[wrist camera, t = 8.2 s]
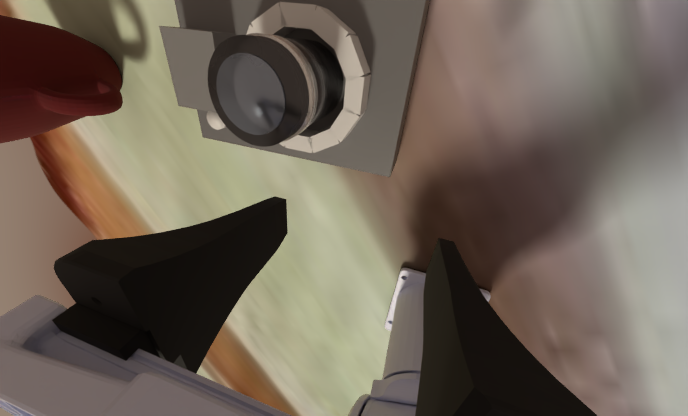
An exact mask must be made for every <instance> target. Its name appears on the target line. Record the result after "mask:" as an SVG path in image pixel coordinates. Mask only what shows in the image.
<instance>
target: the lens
mask: <svg viewBox="0 0 688 416" xmlns="http://www.w3.org/2000/svg"><path fill="white" fill-rule="evenodd" d="M208 88H209V93H210V97H211V100H212V103H213V106H214V108H215V110H216V112H217V114H218V116H219V117H220V119H221V120H222V122H223V123H224V124H225V126H226V127H227V128H228V129H229V130H230V131H231V132H232V133H233V134H234V135H236V136H237V137H238V138H240V139H241V140H243V141H245V142H247V143H249V144H252V145H255V146H261V147H267V146H273V145H276V144H279V143H281V142H284V141H287V140H290V139H292V138H293V137H295V136H297V135H298V134H300V133H301V132H303V131H304V130H305V129H306V128H307V127H308V126H309V125H311V124H313V123H315V122H316V121H318V120H320V119H321V118H323V117H325V116H326V115H328V114H330V113H331V112H332V111H333V110H334V109H335V107H336V106H337V104H338V103H339V101H340V98H341V95H342V90H343V76H342V71H341V68H340V65H339V63H338V61H337V59H336V57H335V56H334V54H333V53H332V52H331V51H330V50H329V49H328V48H327V47H326V46H324V45H323V44H321V43H319V42H317V41H313V40H307V39H293V38H283V37H281V36H277V35H273V34H264V33H251V34H247V35H236V36H232V37H230V38H227V39H226V40H224V41H223V42H221V43H220V44H219V46H218V47H217V48H216V49H215V51H214V52H213V55H212V57H211V59H210V63H209V67H208Z"/></svg>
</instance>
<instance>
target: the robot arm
mask: <svg viewBox="0 0 688 416" xmlns="http://www.w3.org/2000/svg"><path fill="white" fill-rule="evenodd" d="M286 234H287V209H286V199H282V198H279V197H272V198H269V199H266V200H264V201H261V202H259V203H256V204H254V205H251V206H249V207H246V208H244V209H241V210H239V211H236V212H234V213H231V214H228V215H225V216H222V217H220V218H217V219H214V220H211V221H208V222H204V223H201V224H197V225H193V226H190V227H185V228H181V229H176V230H171V231H166V232H161V233H155V234H149V235H142V236H135V237H127V238H115V239H104V240H92V241H90V242H88V243H87V244H85V245H83V246H81V247H79V248H77V249H76V250H74V251H72V252H70V253H68V254H66V255H65V256H63V257H61V258H59V259H58V260H56V261H55V264H54V270H55V273H56V275H57V276H58V278H59V279H60V281H61V282H62V284H63V285H64V286H65V288H66V289H67V291H68V292H69V294H70V295H71V296H72V298H73V299H74V300H75V302H76V304H74V305H73V306H71V307H70V308H69V309H66V308H65V307H64V306H63V305H61V304H59V303H57V302H55V301H53V300H50V299H48V298H46V297H43V296H41V295H35V296H34V297H32V298H30V299H28V300H27V301H25V302H23V303H22V304H20V305H19V306H17V307H15V308H14V309H12V310H10V311H9V312H7V313H5V314H4V315H2V316H1V317H0V407H1V408H2V409H4V410H6V411H7V412H9V413H11V414H12V415H14V416H291V415H289V414H287V413H284V412H282V411H280V410H278V409H275V408H273V407H271V406H268V405H266V404H264V403H262V402H259V401H257V400H255V399H253V398H250V397H248V396H246V395H243V394H241V393H239V392H237V391H234V390H232V389H230V388H228V387H225V386H223V385H221V384H218V383H216V382H214V381H212V380H209V379H207V378H205V377H203V376H200V375H198V374H196V373H197V371H198V369H199V367H200V365H201V363H202V361H203V359H204V358H205V356H206V354H207V352H208V350H209V348H210V346H211V345H212V343H213V341H214V339H215V338H216V336H217V334H218V332H219V331H220V329H221V327H222V325H223V324H224V322H225V321H226V319H227V317H228V316H229V314H230V312H231V311H232V309H233V307H234V306H235V304H236V303H237V301H238V300H239V298H240V297H241V295H242V294H243V292H244V291H245V289H246V288H247V287H248V285H249V284H250V283H251V281H252V280H253V279H254V278H255V277H256V275H257V274H258V273H259V272H260V270H261V269H262V268H263V267H264V266H265V264H266V263H267V262H268V261H269V259H270V258H271V257H272V256H273V254H274V253H275V252H276V251H277V249H278V248H279V246H280V245H281V243H282V241H283V240H284V238H285V236H286ZM403 276H406V277H403ZM490 297H491V296H490V293H489V292H488V291H486V290H483V289H480V288H478V286H477V284H476V283H475V281H474V279H473V278H472V276H471V274H470V272H469V271H468V269H467V267H466V265H465V263H464V261H463V259H462V257H461V255H460V253H459V251H458V249H457V247H456V245H455V243H454V242H453V241H449V240H445V239H441V238H438V241H437V244H436V247H435V249H434V252H433V255H432V258H431V260H430V263H429V266H428V269H427V271H426V273H423V272H419V271H416V270H412V269H409V268H402V269H401V270H400V273H399V277H398V280H397V284H396V287H395V291H394V294H393V298H392V301H391V305H390V308H389V311H388V315H387V318H386V322H385V328H386V329H387V330H390V331H391V334H390V339H389V345H388V350H387V356H386V361H385V367H384V373H383V378H382V380H373V385H372V390H371V395H369V394H365V395H362V396H361V397H360V398H359V399H358V400H357V401H356V403H355V405H354V406H353V407H352V409H351V410H350V412H349V414H348V416H597V415H596V414H595V413H594V412H593V411H592V410H591V409H589V408H588V407H587V406H586V405H585V404H584V403H583V402H582V401H580V400H579V399H578V398H577V397H576V396H575V395H574V394H573V393H571V392H570V391H569V390H568V389H567V388H566V387H565V386H564V385H562V384H561V383H560V382H559V381H558V380H557V379H556V378H555V377H554V376H553V375H552V374H551V373H550V372H549V371H548V370H547V369H546V368H545V367H544V366H543V365H542V364H541V363H540V362H539V361H538V360H537V359H536V358H535V357H534V356H533V355H532V354H531V353H530V352H529V351H528V350H527V349H526V348H525V347H524V346H523V344H522V343H521V342H520V341H519V340H518V339H517V338H516V337H515V335H514V334H513V333H512V332H511V331H510V330H509V329H508V327H507V326H506V325H505V324H504V323H503V321H502V320H501V319H500V317H499V316H498V315H497V314H496V312H495V311H494V310H493V308H492V307H491V306H490V304H489V303H488V301H489V300H490Z"/></svg>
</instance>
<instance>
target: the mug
mask: <svg viewBox="0 0 688 416" xmlns="http://www.w3.org/2000/svg"><path fill="white" fill-rule="evenodd" d="M121 86H122V79H121V75H120V72H119V69H118V67H117V65H116V63H115V62H114V60H113V59H112V58H111V56H110V55H109V54H108V53H107V52H106V51H105V50H103V49H102V48H101V47H99V46H97V45H95V44H93V43H91V42H89V41H87V40H85V39H83V38H81V37H78V36H76V35H74V34H72V33H70V32H67V31H65V30H62V29H59V28H56V27H53V26H49V25H45V24H40V23H35V22H31V21H26V20H21V19H16V18H11V17H7V16H2V15H0V143H4V142H10V141H14V140H19V139H23V138H28V137H32V136H35V135H38V134H41V133H44V132H47V131H50V130H52V129H55V128H57V127H60V126H62V125H65V124H68V123H70V122H73V121H75V120H78V119H80V118H83V117H85V116H97V115H104V114H109V113H112V112H115V111H117V110H118V109H120V108H121V106H122V103H123V101H122V95H121V93H120V89H121Z"/></svg>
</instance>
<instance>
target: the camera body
mask: <svg viewBox="0 0 688 416" xmlns="http://www.w3.org/2000/svg"><path fill="white" fill-rule="evenodd" d="M429 2H430V0H175V5H176V10H177V14H178V19H179V24H180V27H166V26H159V27H160V31H161V35H162V39H163V43H164V48H165V52H166V56H167V60H168V64H169V68H170V72H171V76H172V81H173V85H174V89H175V93H176V97H177V101H178V105H179V106H182V107H188V108H193V109H197V111H198V116H199V121H200V126H201V131H202V135H203V137H204V138H209V139H214V140H218V141H223V142H228V143H232V144H237V145H242V146H246V147H251V148H256V149H260V150H265V151H270V152H274V153H279V154H284V155H288V156H293V157H298V158H302V159H307V160H312V161H316V162H321V163H326V164H330V165H335V166H340V167H344V168H349V169H354V170H358V171H363V172H368V173H372V174H377V175H382V176H387V177H390V176H391V173H392V171H393V168H394V166H395V163H396V160H397V155H398V151H399V146H400V141H401V136H402V131H403V127H404V122H405V117H406V112H407V108H408V103H409V98H410V93H411V88H412V84H413V79H414V74H415V69H416V65H417V60H418V55H419V50H420V45H421V41H422V36H423V31H424V26H425V22H426V17H427V12H428V7H429ZM251 33H264V34H273V35H277V36H281V37H283V38H293V39H307V40H313V41H317V42H319V43H321V44H323V45H324V46H326V47H327V48H328V49H329V50H330V51H331V52H332V53H333V54H334V56H335V57H336V59H337V61H338V63H339V65H340V68H341V71H342V76H343V90H342V95H341V98H340V101H339V103H338V104H337V106H336V107H335V109H334V110H333V111H332V112H331V113H330V114H328V115H326V116H325V117H323V118H321V119H320V120H318V121H316V122H315V123H313V124H311V125H309V126H308V127H307V128H306V129H305V130H304V131H303V132H301V133H300V134H298V135H297V136H295V137H293V138H292V139H290V140H287V141H284V142H281V143H279V144H276V145H273V146H267V147H261V146H255V145H252V144H249V143H247V142H245V141H243V140H241V139H240V138H238V137H237V136H236V135H234V134H233V133H232V132H231V131H230V130H229V129H228V128H227V127H226V126H225V124H224V123H223V122H222V120H221V119H220V117H219V116H218V114H217V112H216V110H215V108H214V106H213V103H212V100H211V97H210V93H209V88H208V67H209V63H210V59H211V57H212V55H213V52H214V51H215V49H216V48H217V47H218V46H219V44H220V43H221V42H223V41H224V40H226V39H227V38H230V37H232V36H236V35H247V34H251Z"/></svg>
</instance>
